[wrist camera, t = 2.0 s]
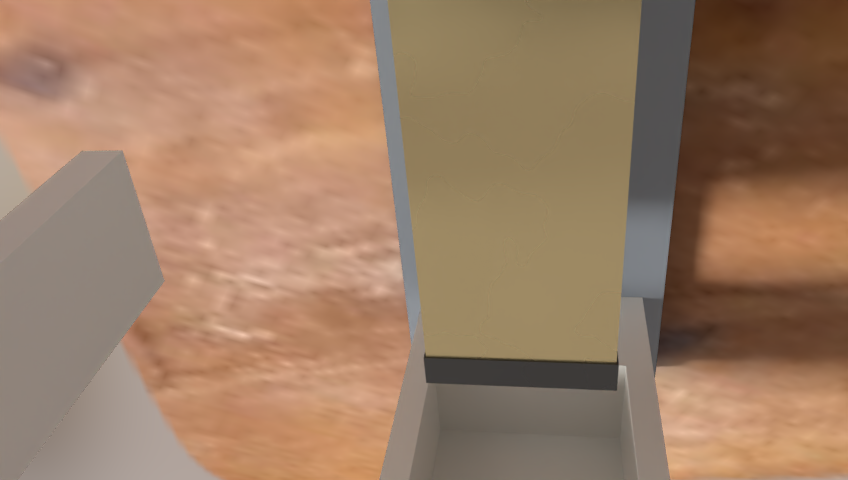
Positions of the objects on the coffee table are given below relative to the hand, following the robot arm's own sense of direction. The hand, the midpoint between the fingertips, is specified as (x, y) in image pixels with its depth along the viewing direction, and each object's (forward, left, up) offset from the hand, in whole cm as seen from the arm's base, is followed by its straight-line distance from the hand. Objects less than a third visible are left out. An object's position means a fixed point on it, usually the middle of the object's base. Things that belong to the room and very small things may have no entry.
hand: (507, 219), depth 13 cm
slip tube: (-3, 0, -7) cm, 8 cm away
